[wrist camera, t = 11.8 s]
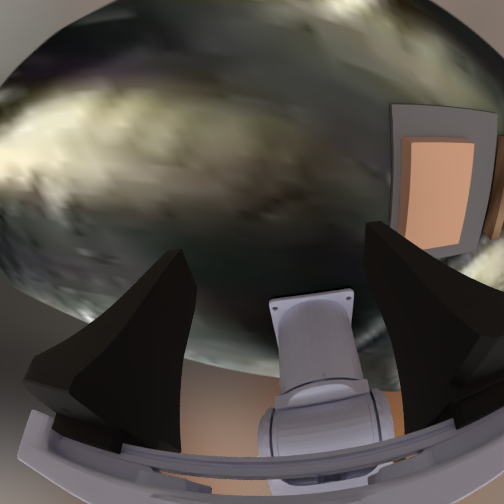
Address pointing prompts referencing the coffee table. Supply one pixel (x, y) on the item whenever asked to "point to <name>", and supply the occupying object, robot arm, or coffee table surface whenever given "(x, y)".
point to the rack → (496, 197)
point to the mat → (447, 125)
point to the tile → (434, 189)
